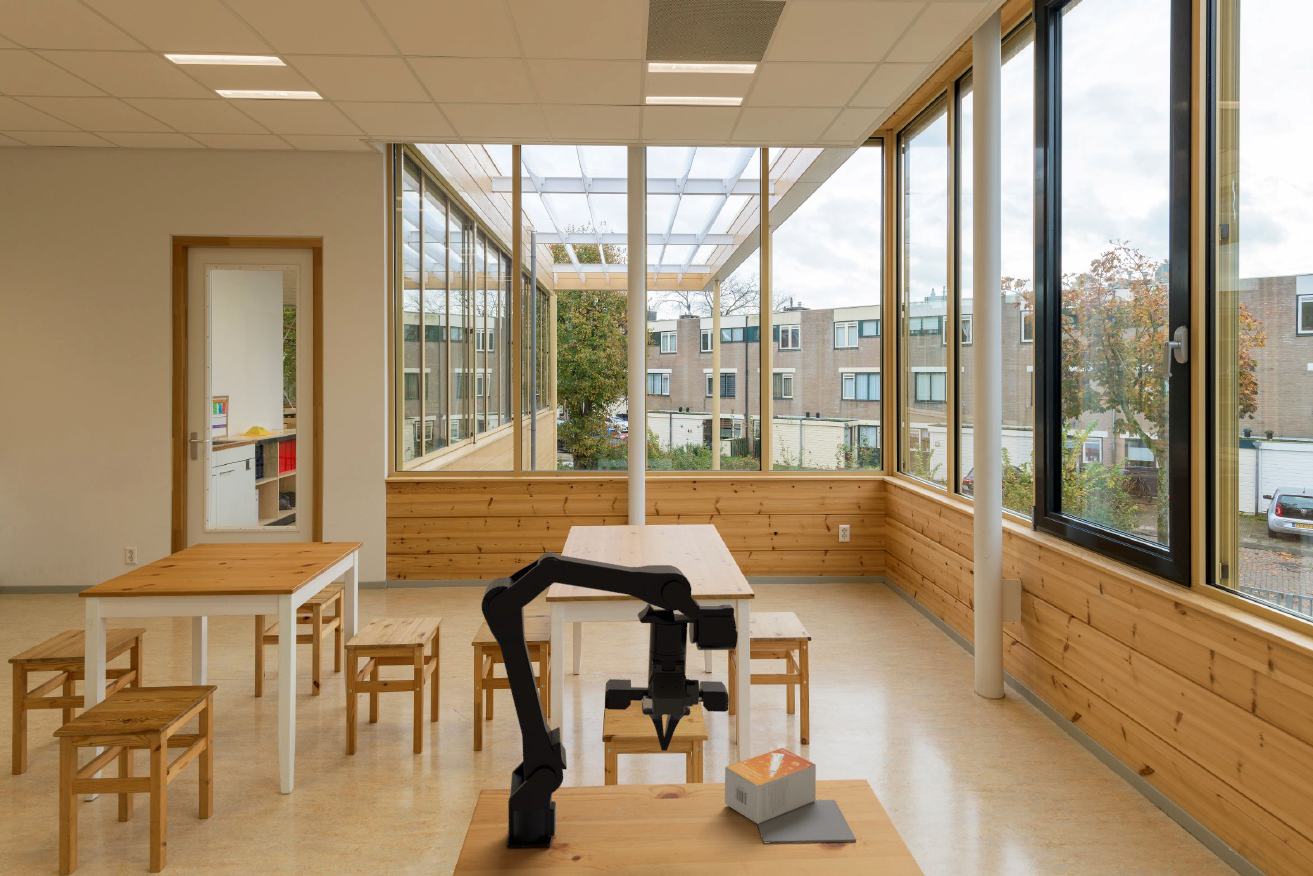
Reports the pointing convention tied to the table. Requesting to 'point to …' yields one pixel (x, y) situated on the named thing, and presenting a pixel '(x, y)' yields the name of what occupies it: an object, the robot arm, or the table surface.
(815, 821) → the mat
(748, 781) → the small box
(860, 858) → the table surface
